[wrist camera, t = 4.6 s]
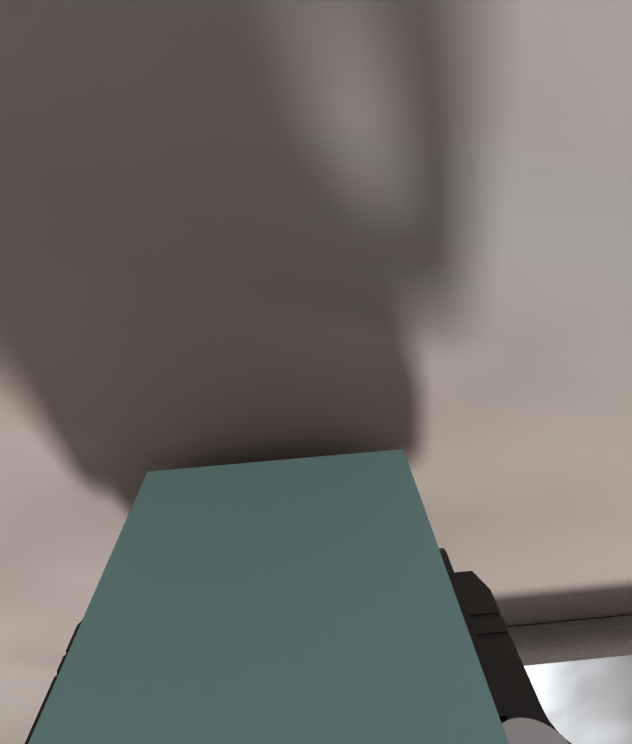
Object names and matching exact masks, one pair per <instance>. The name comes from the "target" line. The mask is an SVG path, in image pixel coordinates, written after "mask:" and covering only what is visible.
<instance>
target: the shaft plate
mask: <svg viewBox="0 0 632 744" xmlns="http://www.w3.org/2000/svg"><path fill="white" fill-rule="evenodd" d="M507 629H508V633H509V636H511V638H512V640H513V643H514V645H515V647H516V649H517V652H518V654H519V656H520V659H521V661H522V663H523V665H524V668H525V670H526V672H527V674H528V677H529V679H530V681H531V684H532V686H533V688H534V690H535V693H536V695H537V697H538V699H539V702H540V704H541V706H542V708H543V710H544V712H545V714H546V716H547V718H548V719H549V721H550V722H551V724H552V725H553V726H554V727H555V729H556V730H557V731H558V732H559V733H560V734H561V735H562V736H563V737H564V738H565V739H566V740H568V741H569V742H570V743H571V744H632V615H627V616H617V617H607V618H597V619H587V620H577V621H567V622H557V623H547V624H537V625H527V626H517V627H507Z"/></svg>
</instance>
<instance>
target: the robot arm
mask: <svg viewBox="0 0 632 744" xmlns="http://www.w3.org/2000/svg"><path fill="white" fill-rule="evenodd" d="M439 551H440V553H441V556H442V559H443V562H444V565H445V567H446V570H447V573H448V576H449V578H450V581H451V584H452V587H453V590H454V592H455V595H456V598H457V601H458V604H459V606H460V609H461V612H462V615H463V617H464V620H465V623H466V626H467V629H468V631H469V634H470V637H471V640H472V642H473V645H474V648H475V651H476V654H477V656H478V659H479V662H480V665H481V668H482V670H483V673H484V676H485V679H486V681H487V684H488V687H489V690H490V693H491V695H492V698H493V701H494V704H495V706H496V709H497V712H498V715H499V718H500V720H501V723H502V726H503V729H504V732H505V734H506V737H507V740H508V743H509V744H571V743H570V742H569V741H568V740H566V739H565V738H564V737H563V736H562V735H561V734H560V733H559V732H558V731H557V730H556V729H555V727H554V726H553V725H552V724H551V722H550V721H549V719H548V718H547V716H546V714H545V712H544V710H543V708H542V706H541V704H540V702H539V699H538V697H537V695H536V693H535V690H534V688H533V686H532V684H531V681H530V679H529V677H528V674H527V672H526V670H525V668H524V665H523V663H522V661H521V659H520V656H519V654H518V652H517V649H516V647H515V645H514V643H513V640H512V638H511V636H509V633H508V629H507V627H506V624H505V622H504V620H503V618H502V617H501V615H500V611H499V609H498V606H497V604H496V602H495V600H494V597H493V595H492V593H491V590H490V589H489V588H488V587H487V586H486V585H485V584H484V583H483V582H482V581H481V580H480V579H479V578H478V577H477V576H476V575H475V574H474V573H473V572H472V571H467V572H456V573H454V571H453V569H452V566H451V563H450V561H449V558H448V555H447V553H446V551H445V549H444V548H439ZM81 622H82V621H81ZM81 622H80V623H79V624H78V625H77V627H76V629H75V632H74V634H73V636H72V638H71V641H70V643H69V645H68V647H67V650H66V655H64V656H63V659H62V661H61V663H60V665H59V668H58V670H57V676H55V677H54V679H53V681H52V683H51V686H50V688H49V690H48V692H47V695H46V697H45V699H44V702H43V704H42V706H41V708H40V711H39V713H38V715H37V717H36V720H35V722H34V724H33V726H32V729H31V731H30V733H29V735H28V738H27V740H26V742H25V744H28V743H29V741H30V738H31V736H32V734H33V732H34V729H35V727H36V725H37V723H38V720H39V718H40V716H41V713H42V711H43V709H44V707H45V704H46V702H47V700H48V697H49V695H50V693H51V691H52V688H53V686H54V684H55V681H56V679H57V677H58V675H59V672H60V670H61V668H62V665H63V663H64V661H65V659H66V656H67V654H68V652H69V650H70V647H71V645H72V643H73V640H74V638H75V636H76V634H77V631H78V629H79V627H80V624H81Z"/></svg>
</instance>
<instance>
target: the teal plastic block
mask: <svg viewBox="0 0 632 744" xmlns="http://www.w3.org/2000/svg"><path fill="white" fill-rule="evenodd" d="M28 744H509V743H508V740H507V737H506V734H505V732H504V729H503V726H502V723H501V720H500V718H499V715H498V712H497V709H496V706H495V704H494V701H493V698H492V695H491V693H490V690H489V687H488V684H487V681H486V679H485V676H484V673H483V670H482V668H481V665H480V662H479V659H478V656H477V654H476V651H475V648H474V645H473V642H472V640H471V637H470V634H469V631H468V629H467V626H466V623H465V620H464V617H463V615H462V612H461V609H460V606H459V604H458V601H457V598H456V595H455V592H454V590H453V587H452V584H451V581H450V578H449V576H448V573H447V570H446V567H445V565H444V562H443V559H442V556H441V553H440V551H439V548H438V545H437V542H436V540H435V537H434V534H433V531H432V528H431V526H430V523H429V520H428V517H427V514H426V512H425V509H424V506H423V503H422V501H421V498H420V495H419V492H418V489H417V487H416V484H415V481H414V478H413V476H412V473H411V470H410V467H409V464H408V462H407V459H406V456H405V453H404V450H403V449H397V450H386V451H374V452H363V453H352V454H341V455H329V456H318V457H307V458H295V459H284V460H273V461H262V462H250V463H239V464H228V465H216V466H205V467H194V468H183V469H171V470H160V471H149V472H147V474H146V476H145V478H144V481H143V483H142V485H141V488H140V490H139V492H138V494H137V497H136V499H135V501H134V504H133V506H132V508H131V510H130V513H129V515H128V517H127V520H126V522H125V524H124V526H123V529H122V531H121V533H120V535H119V538H118V540H117V542H116V545H115V547H114V549H113V551H112V554H111V556H110V558H109V561H108V563H107V565H106V567H105V570H104V572H103V574H102V577H101V579H100V581H99V583H98V586H97V588H96V590H95V592H94V595H93V597H92V599H91V602H90V604H89V606H88V608H87V611H86V613H85V615H84V618H83V620H82V622H81V624H80V627H79V629H78V631H77V634H76V636H75V638H74V640H73V643H72V645H71V647H70V650H69V652H68V654H67V656H66V659H65V661H64V663H63V665H62V668H61V670H60V672H59V675H58V677H57V679H56V681H55V684H54V686H53V688H52V691H51V693H50V695H49V697H48V700H47V702H46V704H45V707H44V709H43V711H42V713H41V716H40V718H39V720H38V723H37V725H36V727H35V729H34V732H33V734H32V736H31V738H30V741H29V743H28Z"/></svg>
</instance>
